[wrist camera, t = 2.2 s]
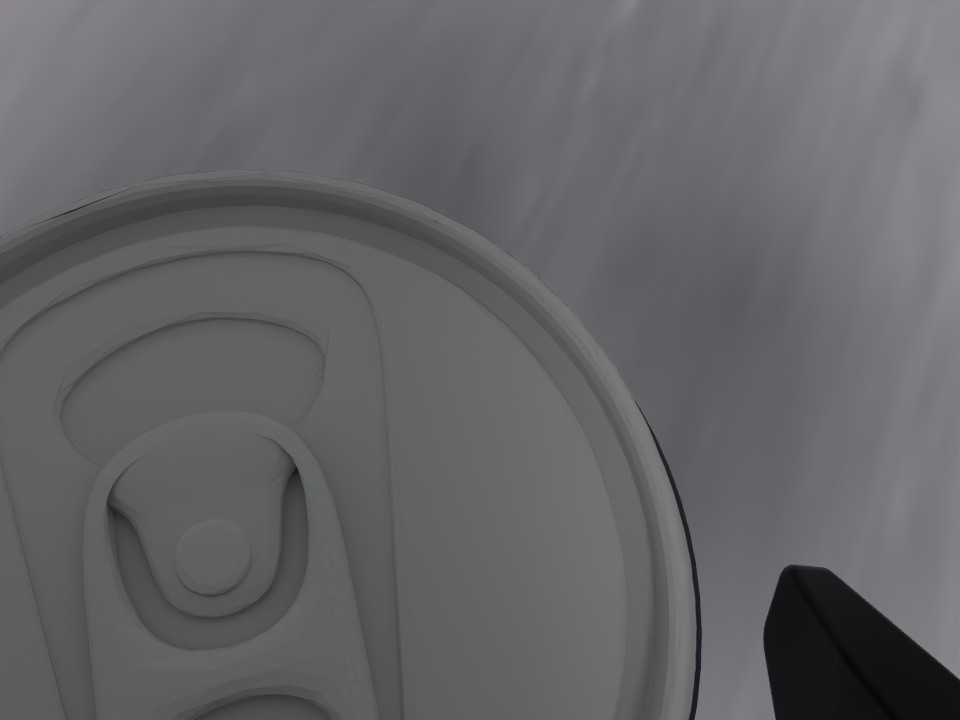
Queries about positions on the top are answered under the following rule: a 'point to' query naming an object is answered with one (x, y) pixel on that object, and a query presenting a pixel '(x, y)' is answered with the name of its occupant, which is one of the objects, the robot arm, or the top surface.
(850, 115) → the top surface
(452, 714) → the beverage can
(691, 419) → the top surface
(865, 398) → the top surface
